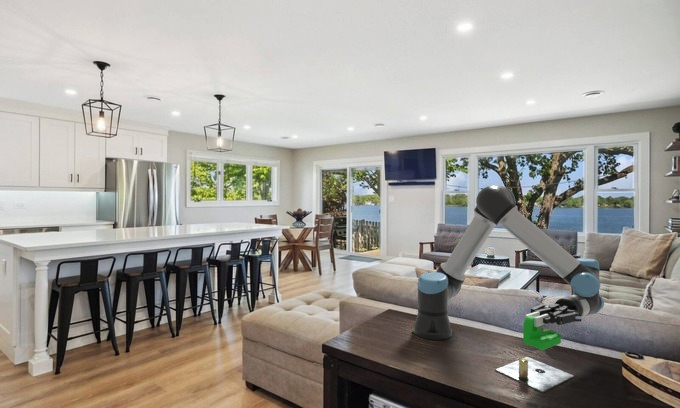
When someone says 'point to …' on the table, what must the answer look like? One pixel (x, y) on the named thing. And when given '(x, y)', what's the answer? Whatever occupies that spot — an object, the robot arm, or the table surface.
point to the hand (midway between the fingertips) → (531, 320)
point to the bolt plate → (535, 374)
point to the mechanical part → (539, 335)
